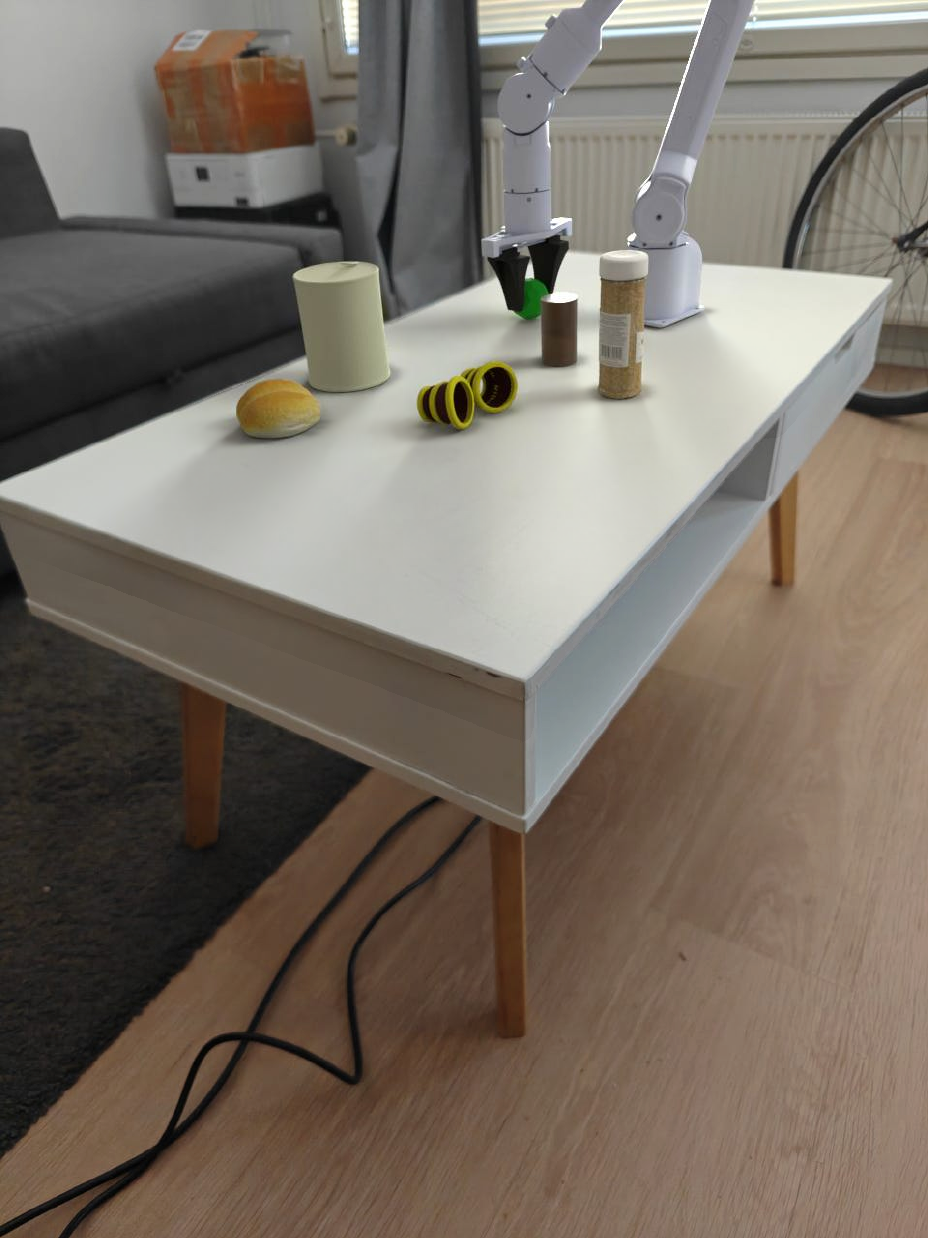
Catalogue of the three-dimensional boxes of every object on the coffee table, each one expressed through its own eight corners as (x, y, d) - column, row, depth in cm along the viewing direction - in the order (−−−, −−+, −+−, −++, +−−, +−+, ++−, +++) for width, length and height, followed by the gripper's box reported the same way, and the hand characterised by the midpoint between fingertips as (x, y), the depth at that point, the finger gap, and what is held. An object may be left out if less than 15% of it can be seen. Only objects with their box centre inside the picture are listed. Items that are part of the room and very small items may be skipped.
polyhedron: (503, 317, 117) (502, 279, 114) (535, 310, 119) (534, 272, 116) (524, 325, 113) (523, 286, 110) (556, 318, 115) (556, 279, 112)
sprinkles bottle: (651, 392, 91) (659, 253, 83) (617, 403, 89) (622, 261, 81) (620, 381, 94) (625, 246, 87) (587, 391, 92) (589, 254, 85)
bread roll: (248, 447, 85) (239, 407, 83) (235, 417, 92) (226, 379, 90) (331, 431, 87) (325, 391, 85) (312, 402, 95) (306, 365, 92)
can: (405, 368, 102) (394, 257, 95) (364, 395, 95) (349, 279, 89) (336, 361, 106) (321, 255, 99) (293, 388, 99) (273, 275, 92)
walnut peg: (557, 353, 103) (557, 290, 99) (584, 359, 101) (585, 295, 97) (534, 362, 101) (533, 298, 97) (561, 369, 98) (561, 304, 95)
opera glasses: (485, 404, 93) (476, 356, 91) (522, 405, 89) (514, 355, 87) (419, 434, 88) (407, 383, 85) (456, 436, 84) (444, 383, 82)
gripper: (542, 178, 114) (543, 288, 121) (461, 197, 106) (468, 313, 113) (585, 181, 109) (584, 295, 117) (504, 201, 101) (508, 322, 109)
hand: (529, 305), depth 115 cm, fingers closed on polyhedron, 5 cm apart
